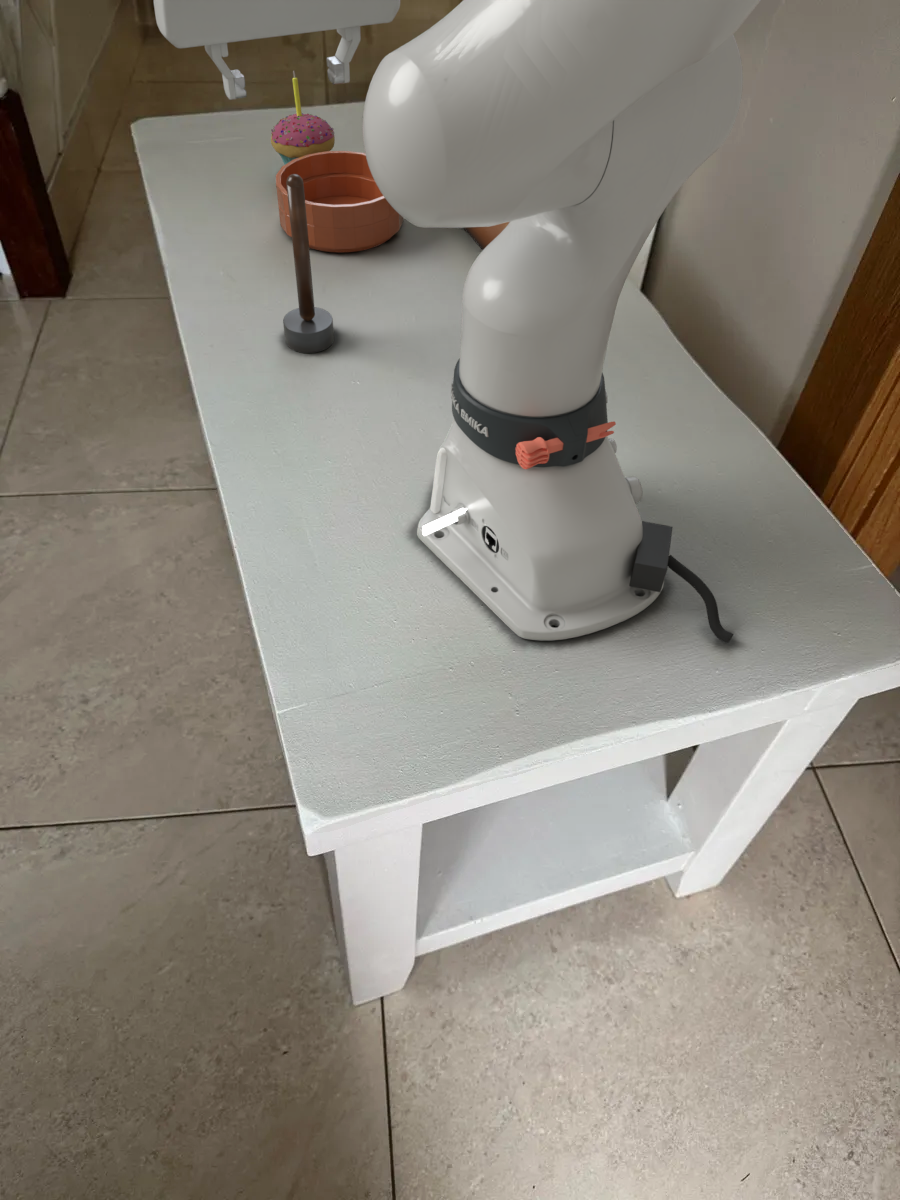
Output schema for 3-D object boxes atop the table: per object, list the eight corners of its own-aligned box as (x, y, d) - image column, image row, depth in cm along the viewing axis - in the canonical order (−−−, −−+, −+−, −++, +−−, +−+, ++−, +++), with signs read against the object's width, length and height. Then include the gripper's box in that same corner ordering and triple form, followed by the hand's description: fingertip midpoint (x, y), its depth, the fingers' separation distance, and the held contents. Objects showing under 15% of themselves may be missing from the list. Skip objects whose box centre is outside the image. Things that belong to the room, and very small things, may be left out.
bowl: (422, 241, 115) (422, 193, 110) (305, 265, 110) (301, 216, 106) (374, 189, 124) (373, 143, 119) (265, 209, 119) (259, 162, 115)
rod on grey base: (341, 346, 99) (330, 181, 86) (294, 357, 98) (276, 191, 84) (324, 322, 102) (310, 159, 89) (278, 332, 101) (258, 167, 88)
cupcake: (267, 163, 128) (256, 68, 119) (326, 154, 131) (320, 60, 122) (284, 190, 123) (274, 92, 114) (345, 180, 125) (340, 84, 116)
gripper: (144, -84, 66) (180, 120, 76) (408, -105, 72) (408, 86, 83) (123, -106, 70) (160, 92, 80) (376, -124, 76) (380, 61, 86)
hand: (288, 89), depth 81 cm, fingers open, 8 cm apart
